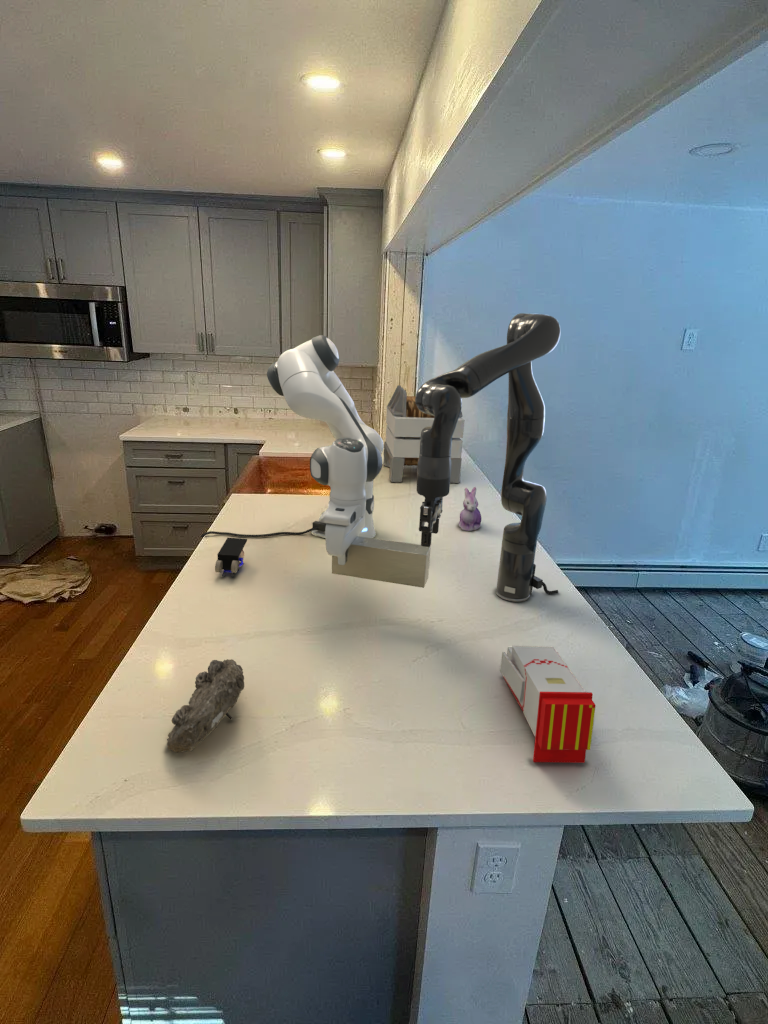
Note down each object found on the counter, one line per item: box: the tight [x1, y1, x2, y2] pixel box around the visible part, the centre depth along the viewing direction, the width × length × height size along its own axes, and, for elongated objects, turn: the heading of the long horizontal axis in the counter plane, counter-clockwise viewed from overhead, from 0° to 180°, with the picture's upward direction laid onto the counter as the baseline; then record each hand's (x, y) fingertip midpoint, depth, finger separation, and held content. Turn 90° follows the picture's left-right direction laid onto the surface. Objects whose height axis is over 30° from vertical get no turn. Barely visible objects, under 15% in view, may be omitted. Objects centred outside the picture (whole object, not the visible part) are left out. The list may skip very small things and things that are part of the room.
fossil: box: [166, 658, 245, 754], centre depth 106 cm, size 22×10×15 cm
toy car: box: [214, 537, 248, 578], centre depth 166 cm, size 7×8×15 cm
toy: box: [499, 645, 597, 764], centre depth 112 cm, size 12×13×30 cm
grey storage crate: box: [382, 384, 465, 484], centre depth 268 cm, size 34×33×41 cm
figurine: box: [458, 486, 482, 532], centre depth 206 cm, size 9×10×15 cm
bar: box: [331, 536, 431, 589], centre depth 140 cm, size 24×6×9 cm, turn 75°
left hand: (346, 558), depth 142 cm, fingers closed on bar, 5 cm apart
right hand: (429, 539), depth 134 cm, fingers open, 8 cm apart
